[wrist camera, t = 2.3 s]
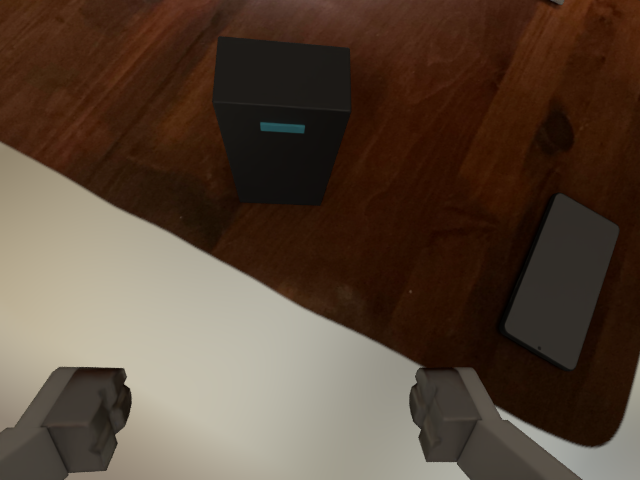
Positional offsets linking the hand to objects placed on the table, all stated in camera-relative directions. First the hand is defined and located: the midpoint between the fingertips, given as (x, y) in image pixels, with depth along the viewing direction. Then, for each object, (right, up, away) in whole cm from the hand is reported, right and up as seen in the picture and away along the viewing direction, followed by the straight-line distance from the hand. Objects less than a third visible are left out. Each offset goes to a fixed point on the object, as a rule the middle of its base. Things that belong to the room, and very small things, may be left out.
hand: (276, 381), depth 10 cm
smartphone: (+23, +1, +23) cm, 32 cm away
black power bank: (-2, +9, +22) cm, 24 cm away
